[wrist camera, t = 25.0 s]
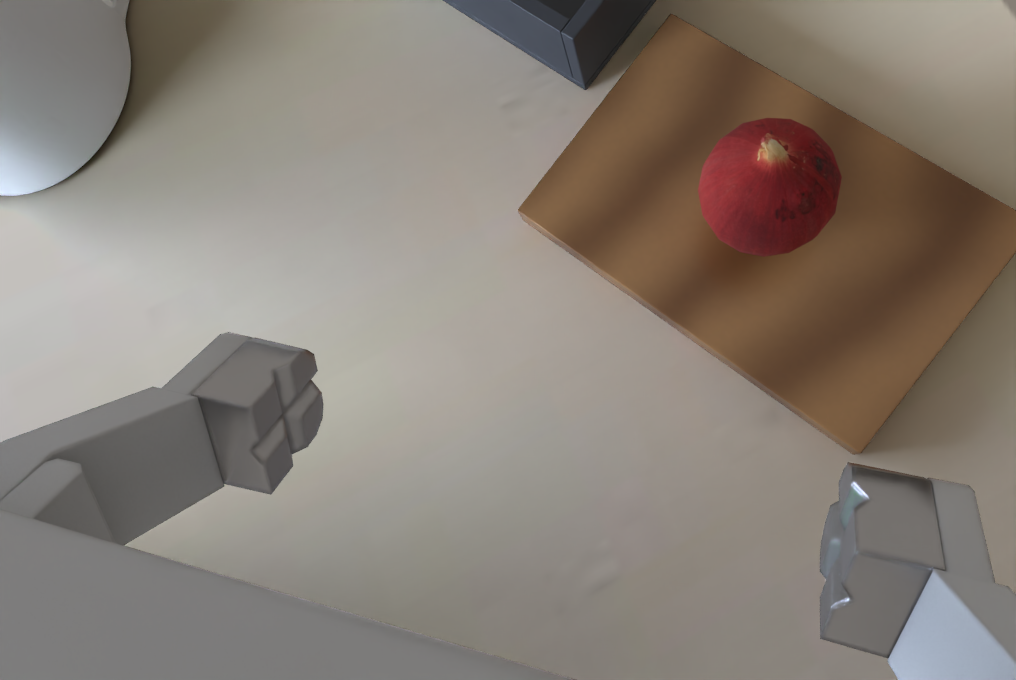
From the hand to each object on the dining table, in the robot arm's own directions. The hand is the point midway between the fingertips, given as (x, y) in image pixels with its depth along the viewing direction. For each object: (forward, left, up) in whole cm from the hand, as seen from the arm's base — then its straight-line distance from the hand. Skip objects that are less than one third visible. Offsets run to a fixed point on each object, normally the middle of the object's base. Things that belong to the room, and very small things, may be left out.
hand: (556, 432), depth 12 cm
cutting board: (-3, +13, -27) cm, 30 cm away
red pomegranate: (-3, +13, -26) cm, 29 cm away
